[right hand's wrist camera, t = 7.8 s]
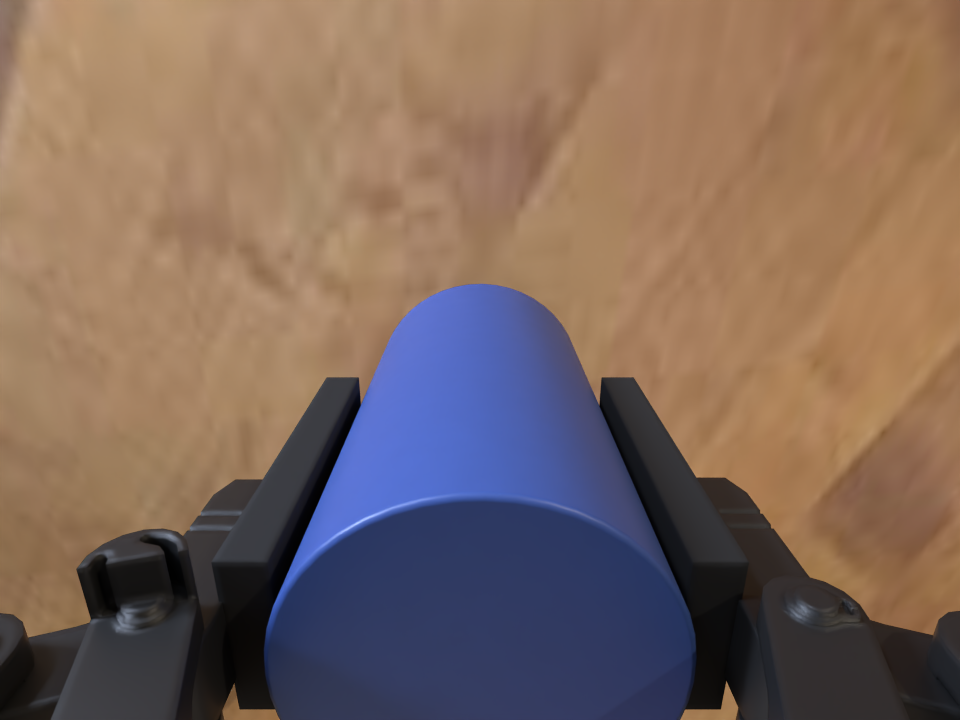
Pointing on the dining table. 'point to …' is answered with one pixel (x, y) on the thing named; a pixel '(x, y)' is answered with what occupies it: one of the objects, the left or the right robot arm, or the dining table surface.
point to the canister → (480, 542)
